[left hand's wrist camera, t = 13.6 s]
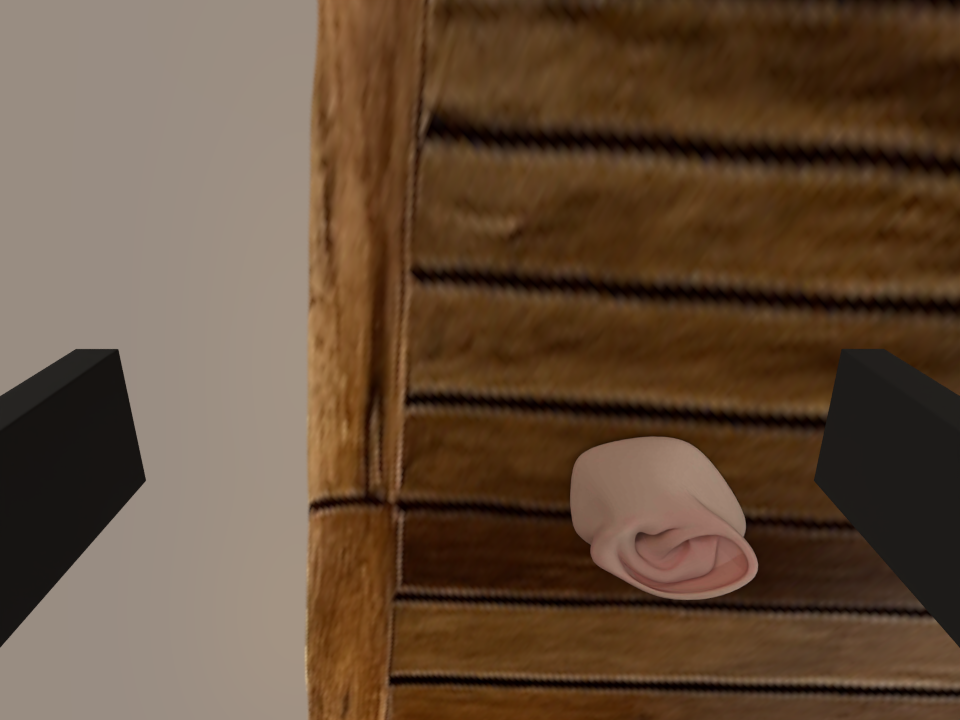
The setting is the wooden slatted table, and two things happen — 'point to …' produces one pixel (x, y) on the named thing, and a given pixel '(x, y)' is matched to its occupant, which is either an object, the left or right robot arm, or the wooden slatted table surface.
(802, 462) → the wooden slatted table surface
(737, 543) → the anatomical model
